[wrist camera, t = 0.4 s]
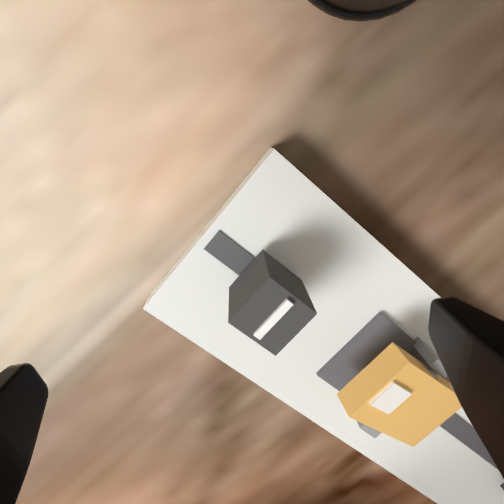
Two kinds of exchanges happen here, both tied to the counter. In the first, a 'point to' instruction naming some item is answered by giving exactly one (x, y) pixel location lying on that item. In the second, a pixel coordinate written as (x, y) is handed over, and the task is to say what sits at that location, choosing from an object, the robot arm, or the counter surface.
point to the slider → (269, 303)
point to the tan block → (399, 396)
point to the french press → (360, 8)
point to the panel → (323, 322)
